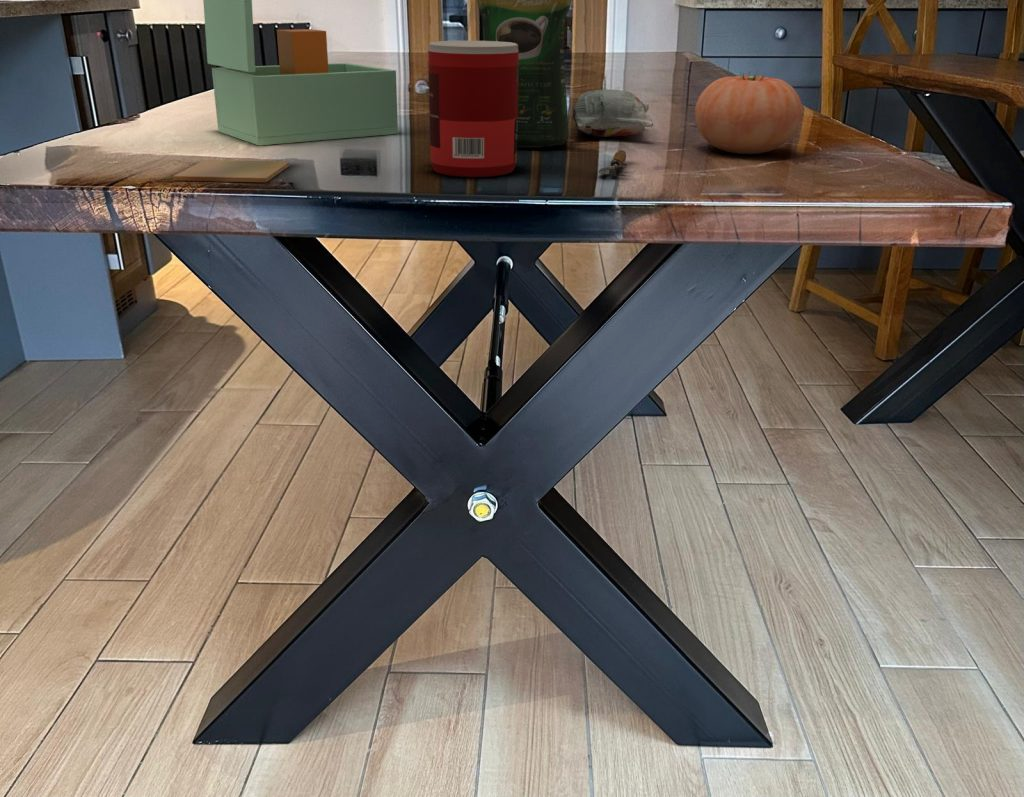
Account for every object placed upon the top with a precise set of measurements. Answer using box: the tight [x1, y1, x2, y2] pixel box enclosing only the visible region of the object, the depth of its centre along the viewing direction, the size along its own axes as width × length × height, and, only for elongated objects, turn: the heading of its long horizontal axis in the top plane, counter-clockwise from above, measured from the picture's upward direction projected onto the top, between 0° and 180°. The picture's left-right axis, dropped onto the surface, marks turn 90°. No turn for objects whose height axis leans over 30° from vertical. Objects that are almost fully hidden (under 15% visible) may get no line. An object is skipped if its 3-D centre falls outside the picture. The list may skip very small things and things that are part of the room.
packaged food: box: [572, 88, 654, 138], centre depth 108 cm, size 9×12×5 cm
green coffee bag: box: [476, 0, 572, 149], centre depth 99 cm, size 10×8×19 cm
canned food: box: [427, 40, 519, 178], centre depth 86 cm, size 8×8×11 cm
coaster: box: [172, 159, 290, 183], centre depth 85 cm, size 8×8×1 cm
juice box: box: [276, 28, 329, 75], centre depth 105 cm, size 4×4×10 cm
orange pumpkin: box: [694, 71, 804, 155], centre depth 98 cm, size 11×11×8 cm
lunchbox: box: [211, 62, 399, 146], centre depth 106 cm, size 17×12×7 cm
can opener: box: [598, 149, 627, 177], centre depth 88 cm, size 9×2×1 cm, turn 162°
